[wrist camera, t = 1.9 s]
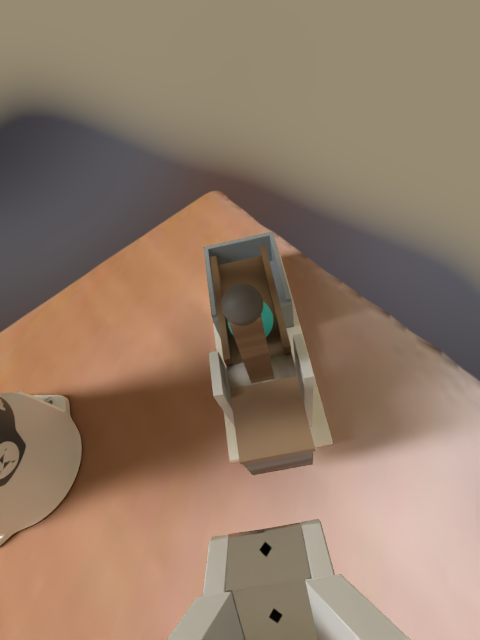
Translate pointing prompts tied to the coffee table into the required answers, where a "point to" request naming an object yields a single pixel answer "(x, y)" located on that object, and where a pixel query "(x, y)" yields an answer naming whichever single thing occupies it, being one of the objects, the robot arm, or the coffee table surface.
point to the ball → (264, 319)
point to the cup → (244, 251)
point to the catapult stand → (305, 380)
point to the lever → (260, 369)
